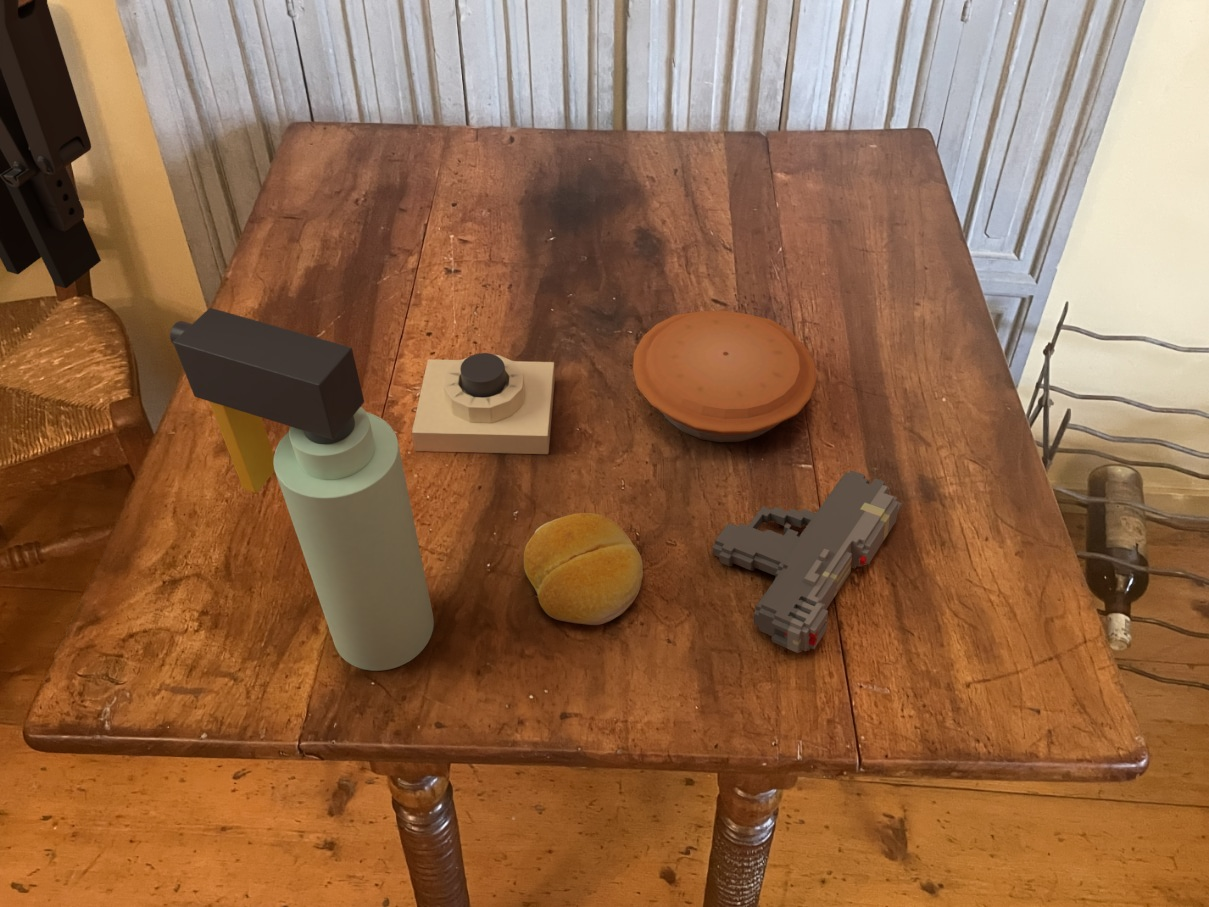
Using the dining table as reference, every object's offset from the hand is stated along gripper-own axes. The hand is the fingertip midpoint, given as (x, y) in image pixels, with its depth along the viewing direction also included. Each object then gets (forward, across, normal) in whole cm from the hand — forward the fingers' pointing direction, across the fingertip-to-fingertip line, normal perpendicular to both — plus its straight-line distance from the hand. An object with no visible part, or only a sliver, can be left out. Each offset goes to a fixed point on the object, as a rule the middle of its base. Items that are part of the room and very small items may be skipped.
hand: (54, 265), depth 54 cm
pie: (+27, -31, -32) cm, 52 cm away
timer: (+27, -13, -22) cm, 37 cm away
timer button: (+23, -13, -22) cm, 34 cm away
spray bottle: (+27, -13, 0) cm, 30 cm away
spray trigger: (+14, -9, 0) cm, 17 cm away
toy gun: (+27, -41, -17) cm, 52 cm away
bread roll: (+27, -27, -9) cm, 39 cm away
